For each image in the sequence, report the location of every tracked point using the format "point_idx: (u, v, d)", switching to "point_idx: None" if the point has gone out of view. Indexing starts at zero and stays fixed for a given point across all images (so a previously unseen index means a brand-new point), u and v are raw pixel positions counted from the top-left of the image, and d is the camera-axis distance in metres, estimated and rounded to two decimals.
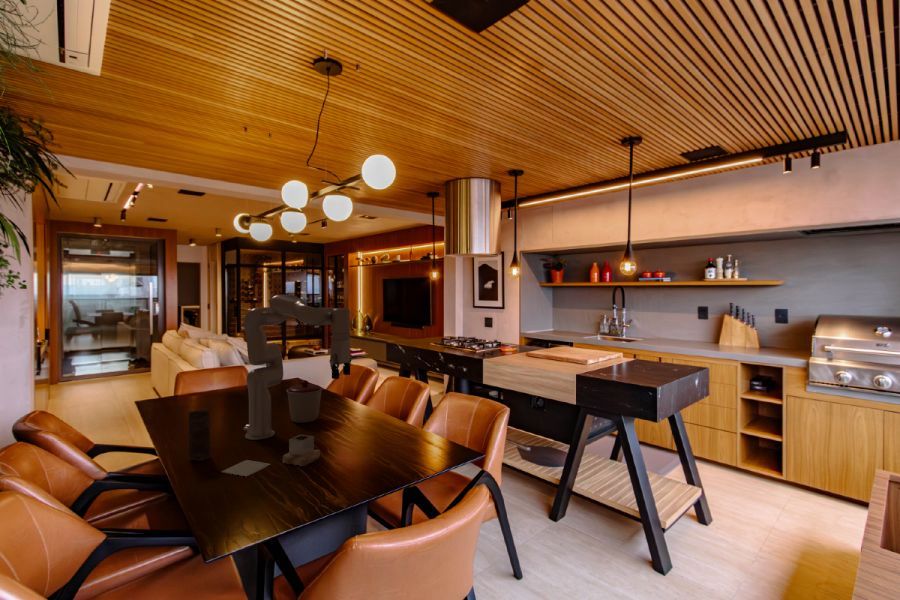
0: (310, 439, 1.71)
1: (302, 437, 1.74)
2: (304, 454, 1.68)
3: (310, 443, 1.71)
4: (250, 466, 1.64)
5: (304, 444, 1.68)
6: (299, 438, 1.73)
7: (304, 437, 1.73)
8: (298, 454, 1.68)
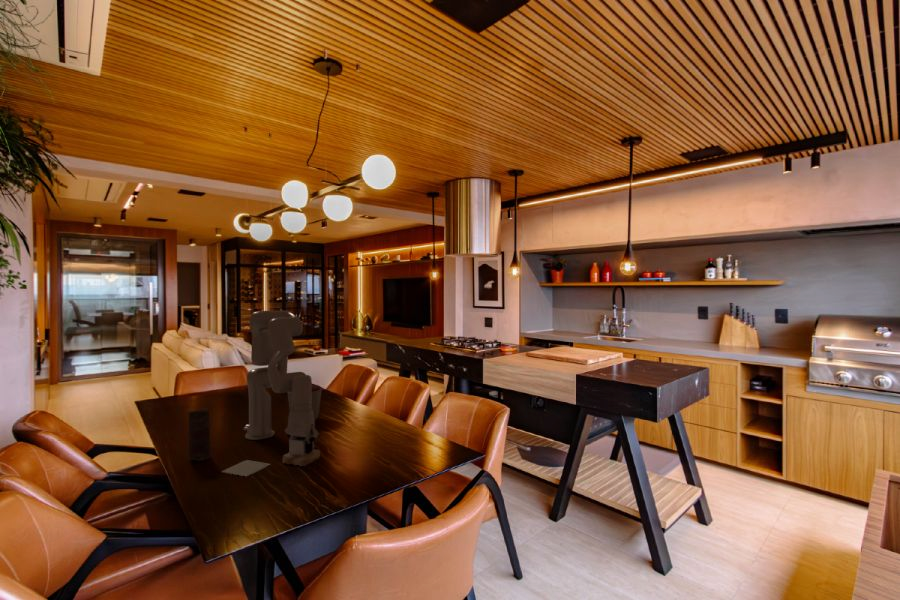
0: None
1: (302, 437, 1.74)
2: (304, 454, 1.68)
3: None
4: (250, 466, 1.64)
5: (304, 444, 1.68)
6: (299, 438, 1.73)
7: (304, 437, 1.73)
8: (298, 454, 1.68)
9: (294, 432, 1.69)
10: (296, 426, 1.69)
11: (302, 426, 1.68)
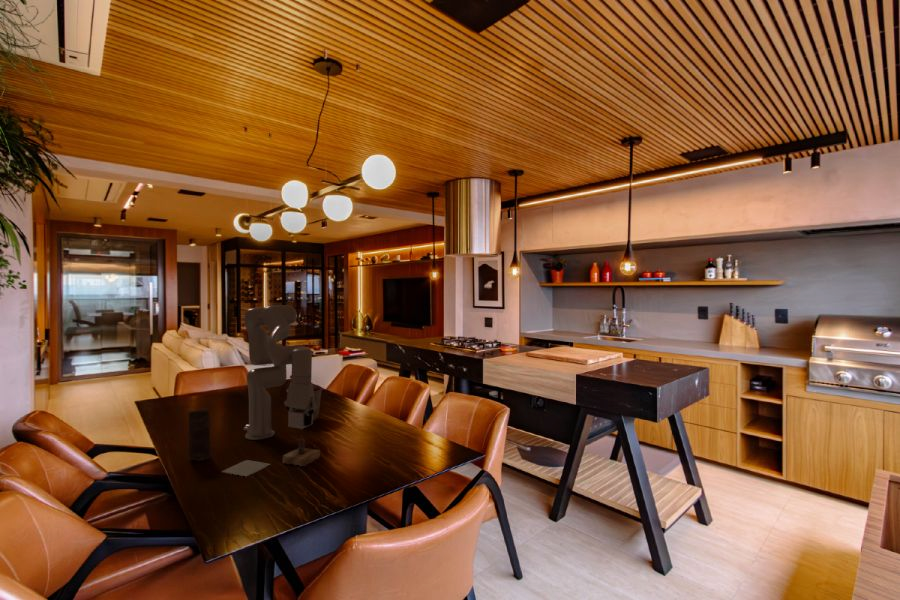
0: None
1: (301, 410, 1.74)
2: (303, 426, 1.68)
3: None
4: (250, 466, 1.64)
5: (303, 416, 1.68)
6: (298, 411, 1.74)
7: (303, 410, 1.74)
8: (297, 426, 1.68)
9: (293, 404, 1.69)
10: (295, 398, 1.69)
11: (301, 398, 1.68)
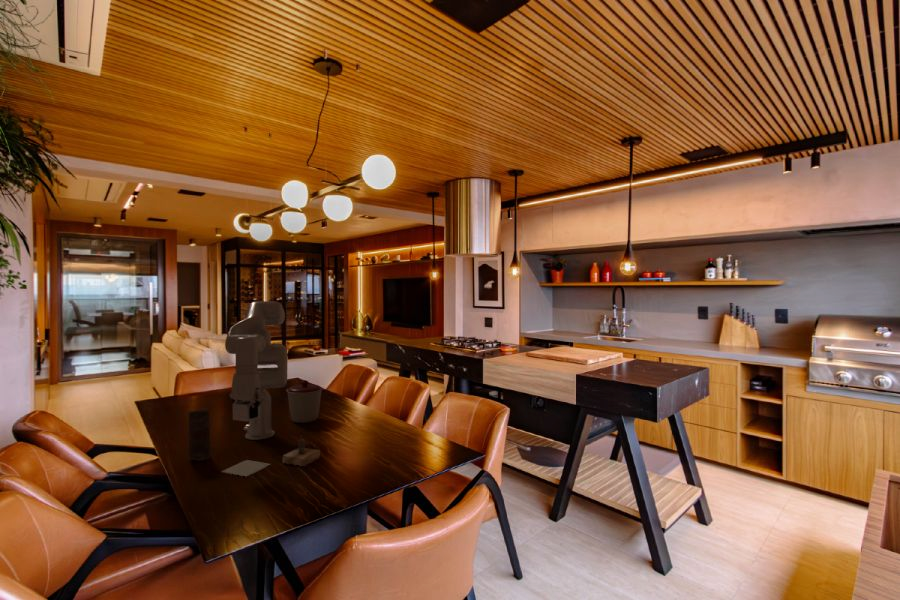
0: None
1: (248, 402, 1.65)
2: (248, 419, 1.59)
3: None
4: (250, 466, 1.64)
5: (248, 408, 1.59)
6: (244, 403, 1.65)
7: None
8: (241, 419, 1.59)
9: (238, 396, 1.60)
10: (240, 389, 1.60)
11: (246, 389, 1.59)
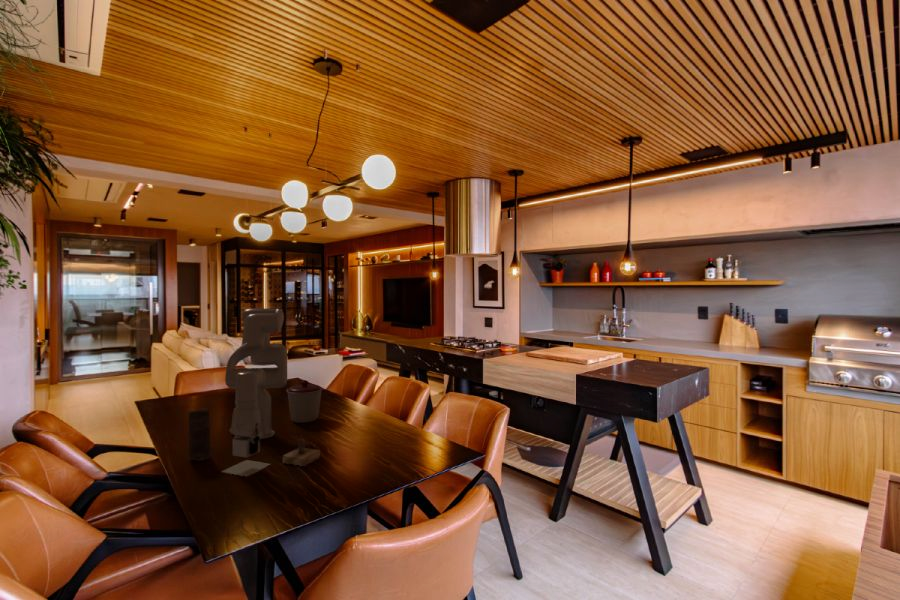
0: None
1: (248, 437, 1.65)
2: (248, 455, 1.59)
3: None
4: (250, 466, 1.64)
5: (248, 444, 1.59)
6: (244, 438, 1.65)
7: None
8: (241, 455, 1.59)
9: (238, 431, 1.60)
10: (240, 425, 1.60)
11: (246, 425, 1.59)
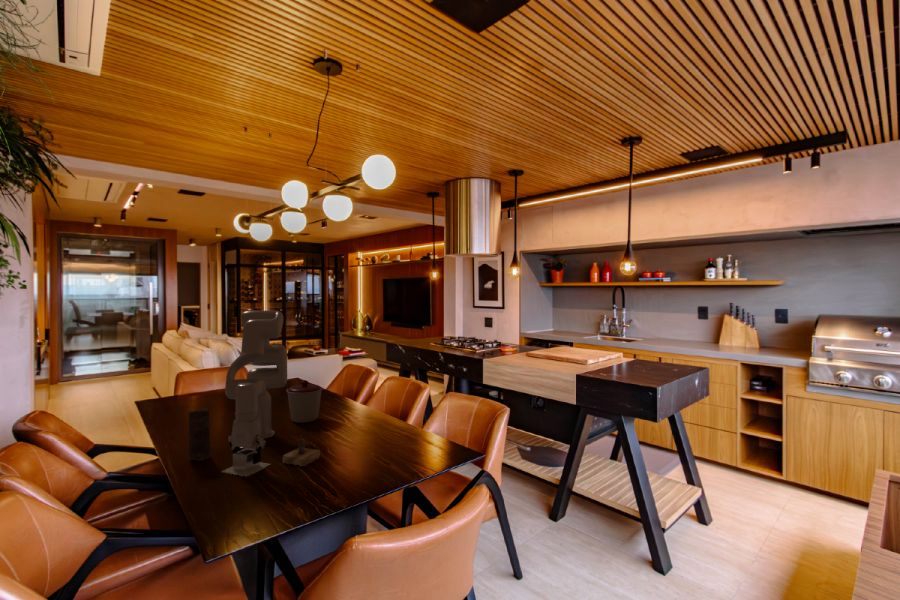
0: None
1: (248, 451, 1.65)
2: (248, 469, 1.60)
3: None
4: None
5: (248, 459, 1.60)
6: (244, 452, 1.65)
7: (250, 451, 1.65)
8: (242, 469, 1.59)
9: (238, 443, 1.61)
10: (240, 436, 1.60)
11: (246, 437, 1.59)
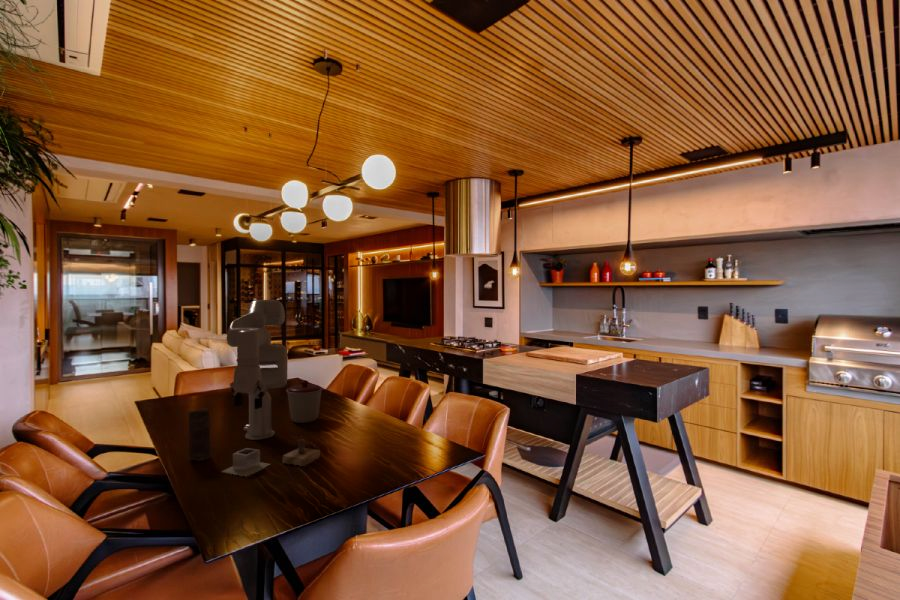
0: (255, 453, 1.63)
1: (248, 451, 1.65)
2: (248, 469, 1.60)
3: (255, 457, 1.63)
4: None
5: (248, 459, 1.60)
6: (244, 452, 1.65)
7: (250, 451, 1.65)
8: (242, 469, 1.59)
9: (240, 388, 1.62)
10: (241, 382, 1.62)
11: (247, 382, 1.61)
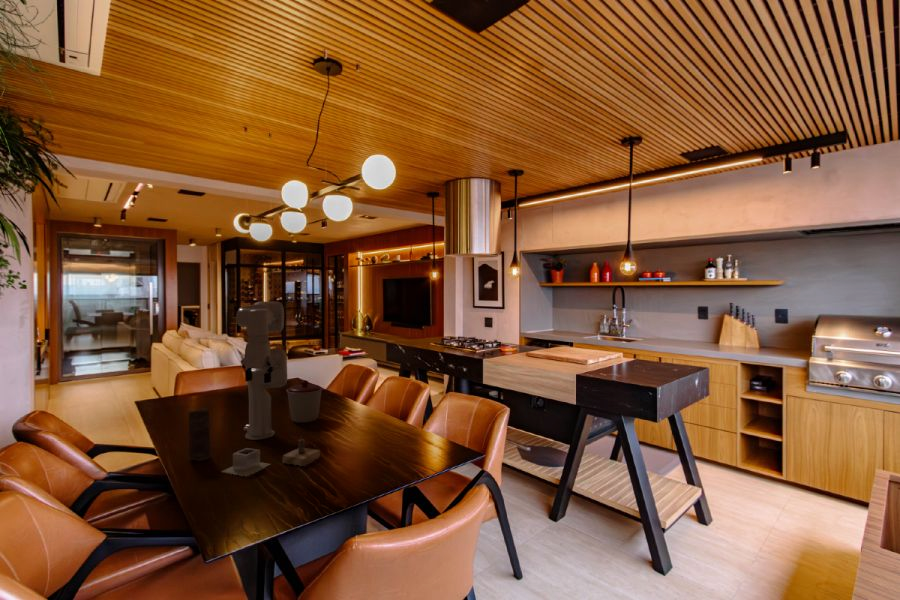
0: (255, 453, 1.63)
1: (248, 451, 1.65)
2: (248, 469, 1.60)
3: (255, 457, 1.63)
4: None
5: (248, 459, 1.60)
6: (244, 452, 1.65)
7: (250, 451, 1.65)
8: (242, 469, 1.59)
9: (250, 364, 1.74)
10: (252, 357, 1.73)
11: (258, 357, 1.72)
